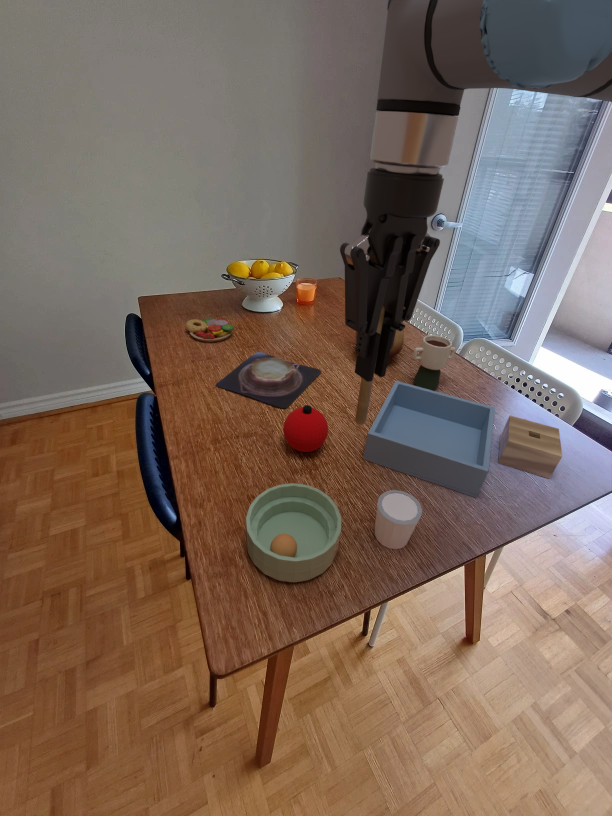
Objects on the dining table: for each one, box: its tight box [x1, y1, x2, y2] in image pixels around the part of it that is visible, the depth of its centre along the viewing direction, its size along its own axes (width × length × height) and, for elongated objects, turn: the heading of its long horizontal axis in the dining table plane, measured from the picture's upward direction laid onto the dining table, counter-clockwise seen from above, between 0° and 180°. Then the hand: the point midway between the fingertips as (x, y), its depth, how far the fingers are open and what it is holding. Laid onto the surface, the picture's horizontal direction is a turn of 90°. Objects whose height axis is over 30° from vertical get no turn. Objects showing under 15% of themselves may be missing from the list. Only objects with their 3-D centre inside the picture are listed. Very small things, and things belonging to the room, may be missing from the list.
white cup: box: [374, 489, 423, 550], centre depth 63 cm, size 7×7×7 cm
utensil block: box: [497, 415, 563, 480], centre depth 82 cm, size 10×10×6 cm
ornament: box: [282, 404, 329, 453], centre depth 79 cm, size 9×9×10 cm
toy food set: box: [185, 317, 234, 343], centre depth 121 cm, size 13×13×3 cm
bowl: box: [245, 482, 343, 583], centre depth 61 cm, size 14×14×6 cm
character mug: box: [412, 334, 457, 391], centre depth 101 cm, size 11×7×13 cm, turn 99°
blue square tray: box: [362, 380, 496, 499], centre depth 83 cm, size 22×22×7 cm
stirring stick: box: [354, 306, 385, 426], centre depth 53 cm, size 2×2×18 cm
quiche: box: [215, 351, 322, 409], centre depth 102 cm, size 21×20×4 cm
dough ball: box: [270, 534, 297, 557], centre depth 59 cm, size 4×4×4 cm
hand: (369, 374), depth 53 cm, fingers closed on stirring stick, 1 cm apart
